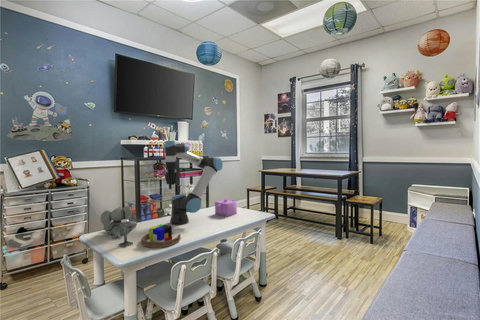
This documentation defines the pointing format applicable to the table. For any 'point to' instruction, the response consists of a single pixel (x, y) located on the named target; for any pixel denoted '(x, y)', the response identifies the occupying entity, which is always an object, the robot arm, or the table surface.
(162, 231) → the puzzle toy
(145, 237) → the rim
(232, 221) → the table surface
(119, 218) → the plush elephant
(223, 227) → the table surface
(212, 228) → the table surface
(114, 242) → the table surface
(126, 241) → the dial gauge stand
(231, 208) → the purple lidded box
